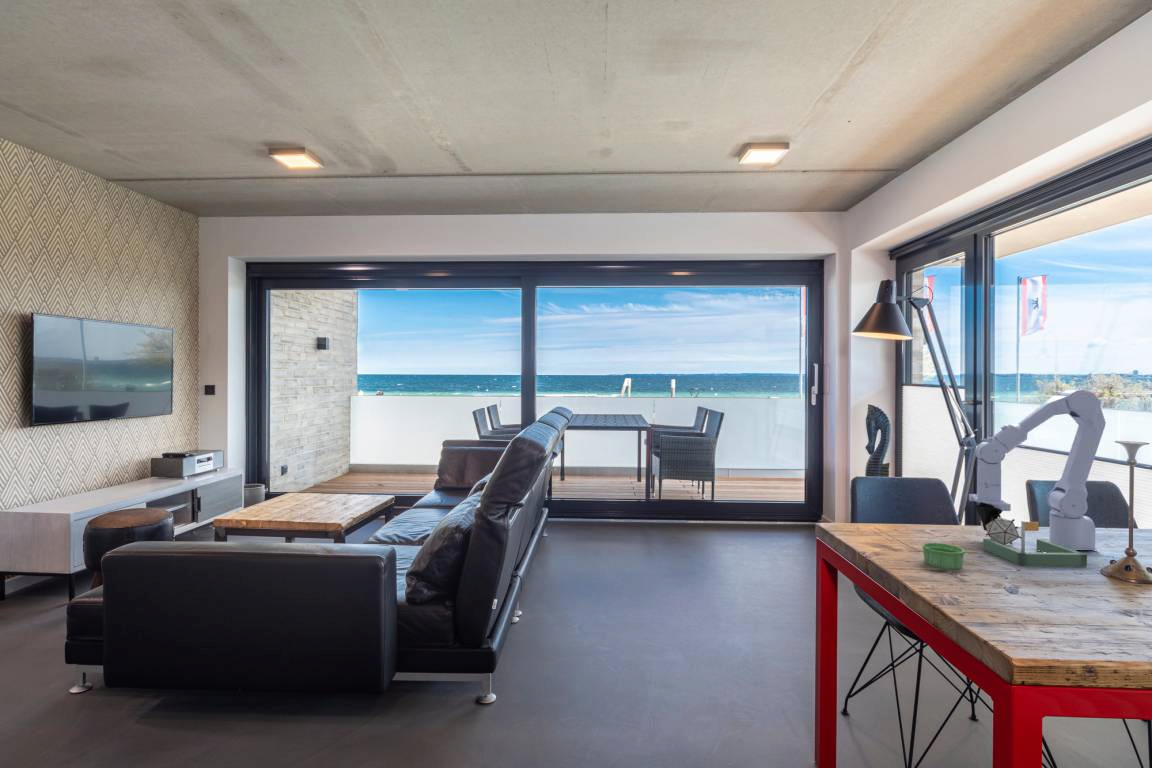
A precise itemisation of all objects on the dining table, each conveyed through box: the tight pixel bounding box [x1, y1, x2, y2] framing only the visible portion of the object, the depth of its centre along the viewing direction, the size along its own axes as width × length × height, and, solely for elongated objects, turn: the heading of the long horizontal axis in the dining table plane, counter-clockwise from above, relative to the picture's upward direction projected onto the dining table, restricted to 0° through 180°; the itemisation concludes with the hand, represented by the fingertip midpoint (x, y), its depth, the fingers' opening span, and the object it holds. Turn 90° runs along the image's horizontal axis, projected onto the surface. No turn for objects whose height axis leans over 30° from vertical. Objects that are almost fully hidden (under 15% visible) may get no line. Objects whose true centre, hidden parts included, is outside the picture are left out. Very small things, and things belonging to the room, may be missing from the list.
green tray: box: [982, 520, 1088, 567], centre depth 150 cm, size 16×14×11 cm
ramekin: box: [921, 542, 965, 570], centre depth 145 cm, size 9×9×4 cm
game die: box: [981, 514, 1021, 546], centre depth 162 cm, size 9×8×10 cm
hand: (988, 530), depth 167 cm, fingers closed
